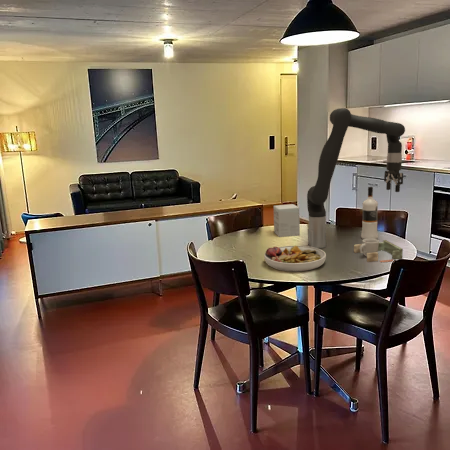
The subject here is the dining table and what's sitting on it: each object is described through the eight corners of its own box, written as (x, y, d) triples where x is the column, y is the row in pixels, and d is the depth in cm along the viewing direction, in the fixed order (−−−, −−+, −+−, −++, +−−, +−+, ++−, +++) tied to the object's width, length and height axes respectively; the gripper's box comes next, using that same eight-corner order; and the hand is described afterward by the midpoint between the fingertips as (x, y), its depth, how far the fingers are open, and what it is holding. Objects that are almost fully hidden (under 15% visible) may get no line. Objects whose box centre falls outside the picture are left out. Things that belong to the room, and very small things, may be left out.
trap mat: (381, 262, 210) (381, 262, 210) (379, 261, 212) (379, 260, 212) (395, 261, 210) (395, 260, 210) (392, 259, 213) (392, 259, 213)
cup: (366, 260, 215) (366, 244, 213) (354, 256, 222) (354, 241, 220) (382, 256, 219) (382, 240, 218) (370, 252, 226) (370, 237, 224)
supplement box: (294, 230, 280) (293, 203, 276) (300, 235, 267) (299, 207, 263) (273, 232, 278) (272, 205, 274) (279, 237, 266) (278, 209, 262)
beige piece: (368, 261, 212) (368, 252, 211) (353, 252, 228) (353, 242, 227) (402, 258, 214) (402, 248, 212) (385, 249, 230) (385, 240, 229)
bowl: (326, 255, 227) (326, 240, 225) (325, 274, 199) (325, 258, 197) (268, 254, 234) (268, 240, 232) (260, 273, 206) (259, 257, 204)
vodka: (366, 235, 258) (367, 185, 252) (380, 237, 252) (382, 186, 245) (358, 239, 252) (358, 187, 245) (373, 241, 246) (374, 188, 239)
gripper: (380, 160, 242) (379, 189, 246) (395, 162, 229) (394, 193, 232) (392, 159, 244) (391, 188, 247) (408, 161, 230) (406, 192, 234)
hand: (392, 190), depth 240 cm, fingers open, 8 cm apart
